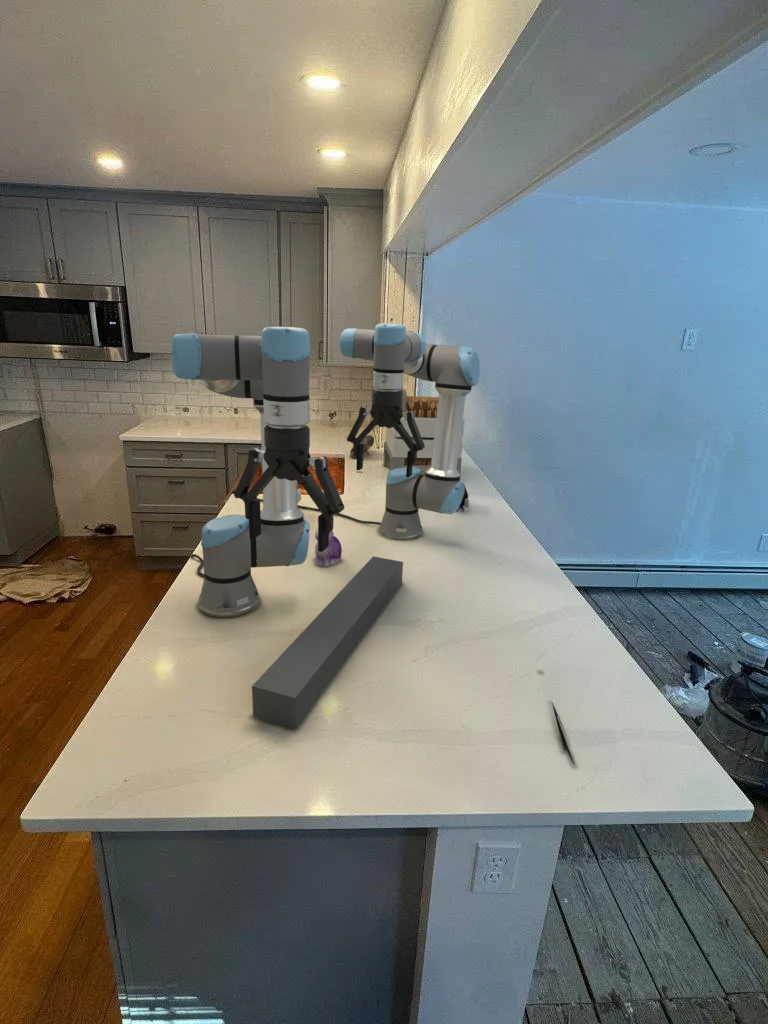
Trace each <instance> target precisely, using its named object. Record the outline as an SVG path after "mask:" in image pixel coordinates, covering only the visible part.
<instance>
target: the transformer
mask: <svg viewBox="0 0 768 1024" xmlns="http://www.w3.org/2000/svg"><path fill="white" fill-rule="evenodd" d="M400 391H402V392H403V396H402V411H403V412H410V411H413V412H414V419H415V422H416V425H417V427H418V430H419V432H420V435H421V437H422V440H423V442H424V445H425V447H424V448H423V449H422V450H419V451H417V461H416V463H415V464H413V466H412V467H417V466H418V467H431V460H432V451H433V443H434V434H435V425H436V416H437V407H438V399H439V396H415V395H414V396H413V395H412V396H411V395H407V394H408V393H407V390H406V389H404V387H403V388H402V389H401V390H400ZM400 421H401V423H402V424H403V426H404V428H405V430H406V431H407V432H408V434H409V435H410V437H411V438H412V440H413V441H414V438H413V436H412V433H411V431H410V428H409V426H408V423H407V421H406V420H405V418H404V417H402V418H401V419H400ZM464 429H465V419H464V418H463V421H462V429H461V437H460V445H459V453H458V461H457V471H458V472H459V474H460V475H461V472H462V461H463V460H462V453H463V442H464V441H463V440H462V439H463V438H464V431H465V430H464ZM414 442H415V441H414ZM415 444H416V443H415ZM408 451H410V449H409V448H408V446H407V445H406V443H405V442H404V440H403V439H402V438H401V436H400V435H399V433H398V432H397V431H396V430H395V429H394V427H392V428H387V427H385V438H384V442H383V466H384V467H388V468H389V472H390V471H391V470H393V469H397V468H404V467H405V466H407V452H408Z"/></svg>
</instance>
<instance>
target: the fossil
mask: <svg viewBox="0 0 768 1024" xmlns="http://www.w3.org/2000/svg"><path fill="white" fill-rule="evenodd" d="M374 443H375V438H374V436H373V435H371V434H368V435H367V436H366V437H365V438H364V439H363V440H362V441H361V443H360V444H364V446H363V455H364V454H365V453H366V454H367V455H368V456H370V453H369V452H368V451H369V450H370V449H371V447H373V445H374ZM349 453H350V454H349V457H350V458H351V459H357V457H354V444H353V443H352V447H351V449H350V452H349Z"/></svg>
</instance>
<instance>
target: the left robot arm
mask: <svg viewBox="0 0 768 1024" xmlns="http://www.w3.org/2000/svg"><path fill="white" fill-rule="evenodd" d="M311 351H312V349H311V346H310V334H309V332H308V330H307V329H305V328H303V327H296V326H266V327H264V328H263V329H262V331H261V335H241V334H240V335H239V334H238V335H230V334H229V335H227V334H207V333H195V332H191V333H176V334H174V335H173V336H172V339H171V352H170V353H171V364H172V370H173V373H174V375H175V377H176V378H178V379H181V380H190V381H200V383H201V385H203V387H205V388H206V389H207V390H209V391H210V392H213V393H216V394H219V395H222V396H226V397H230V398H235V399H252V400H253V407H254V408H255V409H256V411H258V413H259V414H260V438H261V439H260V441H261V447H259V446H257V447H254V448H252V449H250V450H249V451H248V453H247V454H248V455H247V463H246V465H245V467H244V470H243V472H242V474H241V477H240V479H239V481H238V484H237V486H236V488H235V493H233V496H234V498H235V499H240V500H242V501H243V503H244V514H235V513H234V514H227V515H222V516H218V517H215V518H213V519H211V520H209V521H208V522H206V523H205V524H204V525H203V527H202V528H201V540H200V541H201V542H200V544H201V547H202V557H201V556H200V555H198V554H196V553H193V554H191V555H190V558H196V559H198V560H199V561H200V565H198V567H197V569H196V572H197V574H198V575H199V576H202V577H203V582H202V586H201V591H200V594H199V596H198V608H199V610H200V611H201V612H202V613H203V614H205V615H207V616H210V617H214V618H235V617H239V616H242V615H246V614H248V613H250V612H252V611H253V610H254V609H257V607H258V605H259V604H260V594H259V590H258V588H257V586H256V583H255V581H254V578H253V576H252V568H272V567H286V568H287V567H290V566H299V565H302V564H304V563H305V562H306V560H307V557H308V554H309V553H308V551H309V547H310V546H309V545H310V533H311V531H310V530H311V525H310V521H309V520H308V519H306V518H305V517H304V516H305V515H304V512H303V511H302V510H300V508H298V505H299V504H297V491H298V485H300V486H302V488H303V490H304V491H305V492H306V494H307V495H308V496H309V498H310V499H311V501H312V502H313V503H314V505H315V506H316V507H317V509H319V510H320V511H319V512H320V514H319V515H318V516H317V529H318V540H317V541H318V551H319V552H323V551H324V550H325V549H326V548H327V547H329V533H330V532H332V531H333V530H334V519H335V517H334V516H338V515H337V514H339V513H340V514H341V512H343V511H344V510H345V504H344V503H343V500H342V498H341V495H340V493H339V490H338V488H337V486H336V484H335V481H334V479H333V477H332V474H331V472H330V470H329V464H328V462H329V461H328V458H327V456H326V455H321V456H320V457H311V454H310V447H311V428H310V426H309V425H308V424H310V422H311V413H310V412H311V411H310V410H311V409H310V407H311V406H310V404H311V403H310V365H311V364H310V363H311V362H310V360H311V359H310V355H311ZM260 465H261V466H262V467H261V471H262V472H261V476H260V477H259V479H258V480H256V482H255V483H254V485H253V486H252V483H253V481H254V479H255V477H256V475H257V472H258V469H259V467H260ZM310 466H312V470H313V471H314V472H315V475H316V478H317V480H318V482H319V484H318V482H317V480H315V479H314V475H313V473H312V472H311V470H310V469H309V467H310ZM319 485H320V486H319ZM251 486H252V487H251ZM261 493H262V499H263V502H262V503H263V504H262V505H263V508H262V510H261V501H259V500H255V499H256V498H258V497H259V495H260V494H261ZM258 499H259V498H258ZM202 567H203V572H201V568H202Z"/></svg>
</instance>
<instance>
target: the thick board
mask: <svg viewBox="0 0 768 1024" xmlns="http://www.w3.org/2000/svg"><path fill="white" fill-rule="evenodd" d="M403 569H404V561H402V560H401V561H400V560H395V559H390V558H386V557H385V558H384V557H379V556H375V555H374V556H372V557H371V558H369V560H368V561H367V562H366V563H365V564H364V565H363V567H361V568H360V570H358V571H357V572H356V574H354V576H353V577H352V578H351V579H350V580H349V581H348V583H346V585H345V586H344V587H343V588H342V589H341V590H340V591H339V592H338V593H337V594H336V595H335V596H334V597H333V599H332V600H331V601H329V603H328V604H327V605H326V606H325V607H324V608H323V609H322V610H321V611H320V612H319V614H318V615H316V617H315V618H314V619H313V620H312V621H311V622H310V623H309V624H308V625H307V626H306V628H304V629H303V631H301V633H300V634H299V635H298V636H297V637H296V638H295V639H294V640H293V641H292V642H291V643H290V644H289V646H287V648H285V650H284V651H283V652H282V653H281V654H280V655H279V656H278V657H277V658H276V659H275V660H274V662H273V663H272V664H271V665H270V666H269V667H268V668H267V669H266V670H265V671H264V673H262V674H261V676H260V677H259V678H258V679H256V681H255V682H254V683H253V684H252V685H251V695H252V696H251V697H252V698H251V699H252V717H253V718H256V719H259V720H263V721H266V722H269V723H273V724H276V725H279V726H283V727H286V728H289V729H294V730H297V728H298V727H299V726H300V724H301V723H302V721H303V720H304V719H305V717H306V716H307V715H308V713H309V712H310V711H311V709H312V708H313V706H314V705H315V703H316V702H317V701H318V699H319V698H320V697H321V695H322V694H323V693H324V691H325V690H326V689H327V688H328V686H329V685H330V683H331V682H332V681H333V679H334V677H336V675H337V674H338V672H339V671H340V669H341V668H342V667H343V665H344V664H345V663H346V661H347V660H348V658H350V656H351V654H352V653H353V652H354V650H355V649H356V648H357V646H358V645H359V643H360V642H361V641H362V639H363V638H364V636H365V635H366V634H367V632H368V631H369V629H370V628H371V627H372V626H373V625H374V623H375V621H376V620H377V619H378V618H379V616H380V615H381V613H382V612H383V610H384V609H385V608H386V606H387V605H388V604H389V602H390V601H391V600H392V598H393V597H394V596H395V594H396V593H397V591H398V590H399V589H400V587H401V586H402V585H403V584H402V583H403V572H404V571H403Z"/></svg>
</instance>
